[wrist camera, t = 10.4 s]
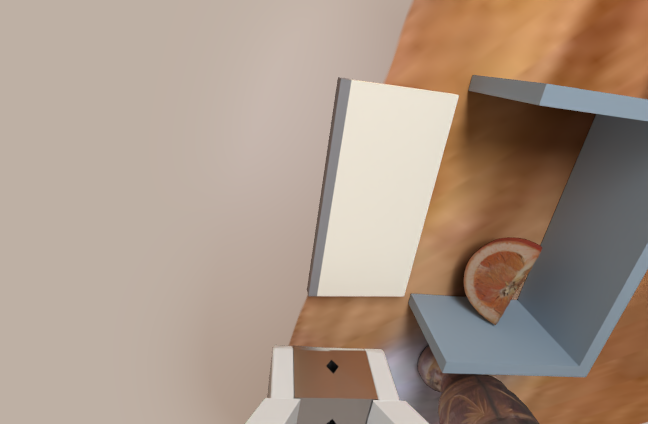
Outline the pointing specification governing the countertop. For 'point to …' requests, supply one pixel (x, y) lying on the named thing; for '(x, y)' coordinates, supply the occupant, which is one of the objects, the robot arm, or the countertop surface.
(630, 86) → the countertop surface
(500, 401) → the mortar and pestle
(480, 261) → the fruit slice
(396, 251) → the white rectangular panel
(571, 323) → the crate
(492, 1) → the countertop surface
